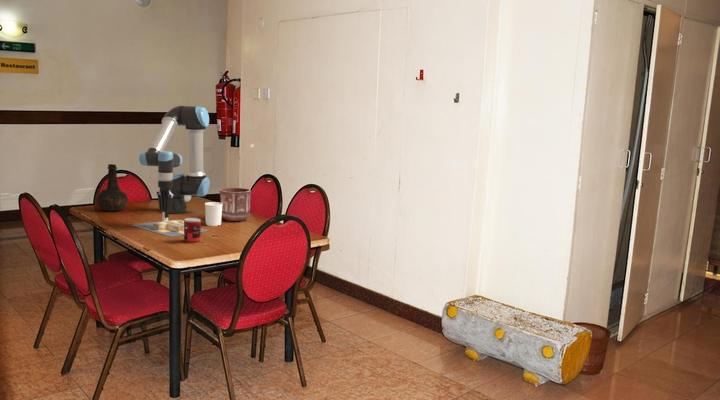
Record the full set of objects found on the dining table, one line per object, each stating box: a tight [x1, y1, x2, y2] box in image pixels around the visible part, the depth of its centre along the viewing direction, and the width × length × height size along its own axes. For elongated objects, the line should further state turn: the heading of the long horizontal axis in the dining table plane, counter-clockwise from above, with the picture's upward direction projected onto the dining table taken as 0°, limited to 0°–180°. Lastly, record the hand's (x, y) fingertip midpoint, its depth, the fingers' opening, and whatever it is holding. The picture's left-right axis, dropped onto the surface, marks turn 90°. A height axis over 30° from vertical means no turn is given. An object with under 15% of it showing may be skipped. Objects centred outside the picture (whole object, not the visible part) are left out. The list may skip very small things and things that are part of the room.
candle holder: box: [204, 201, 223, 227], centre depth 343 cm, size 10×10×12 cm
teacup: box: [184, 195, 192, 204], centre depth 410 cm, size 14×11×8 cm
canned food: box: [183, 217, 202, 244], centre depth 303 cm, size 8×8×11 cm
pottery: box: [219, 187, 252, 223], centre depth 359 cm, size 18×18×18 cm
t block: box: [153, 219, 184, 232], centre depth 327 cm, size 16×15×3 cm
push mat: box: [130, 219, 210, 238], centre depth 329 cm, size 24×36×1 cm, turn 52°
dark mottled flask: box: [96, 163, 129, 213], centre depth 367 cm, size 18×18×28 cm
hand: (165, 223), depth 331 cm, fingers closed
